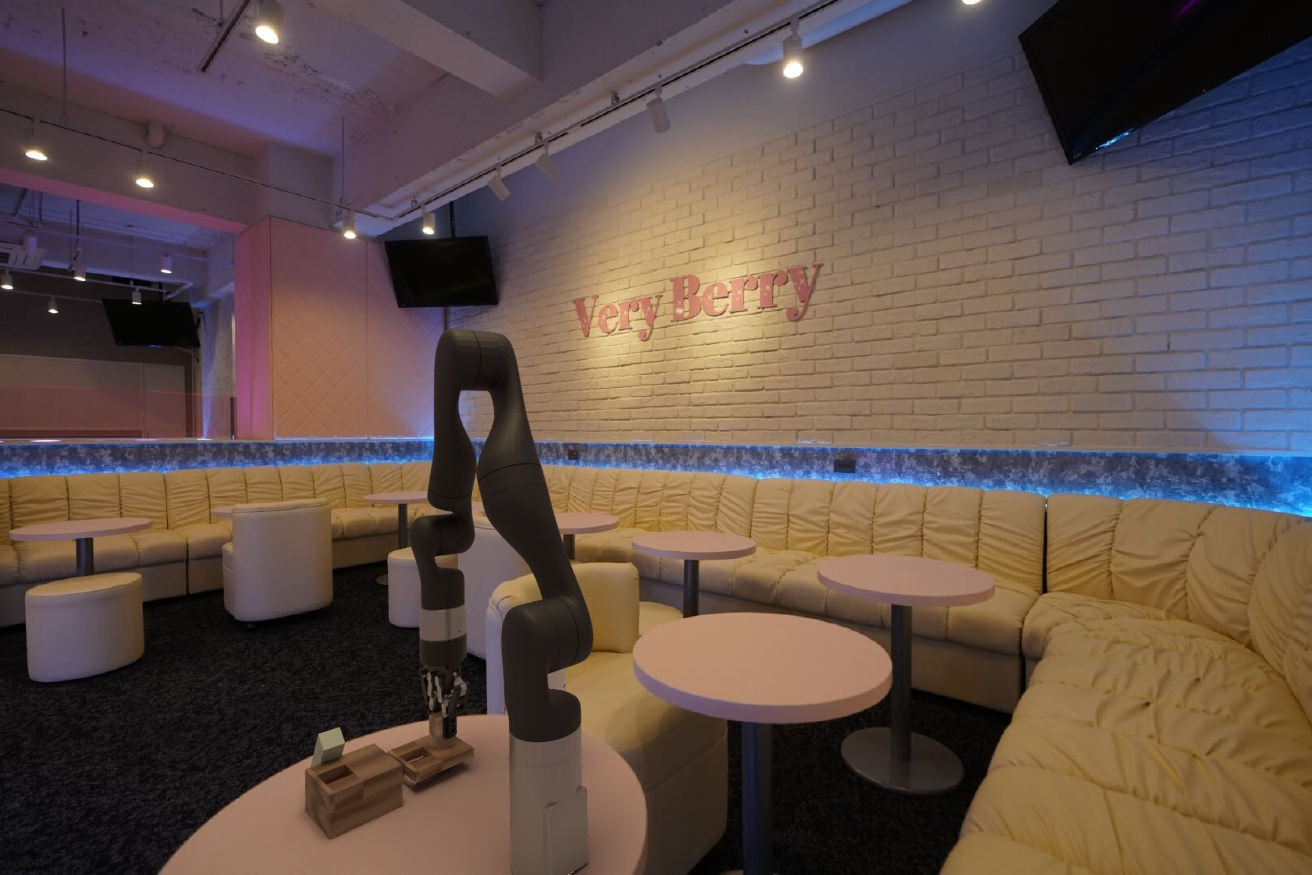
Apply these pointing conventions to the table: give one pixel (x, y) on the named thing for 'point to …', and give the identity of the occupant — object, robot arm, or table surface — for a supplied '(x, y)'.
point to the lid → (431, 752)
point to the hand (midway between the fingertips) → (444, 733)
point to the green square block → (328, 746)
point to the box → (352, 789)
